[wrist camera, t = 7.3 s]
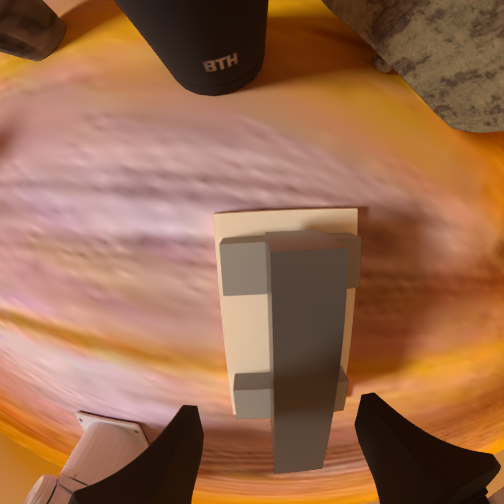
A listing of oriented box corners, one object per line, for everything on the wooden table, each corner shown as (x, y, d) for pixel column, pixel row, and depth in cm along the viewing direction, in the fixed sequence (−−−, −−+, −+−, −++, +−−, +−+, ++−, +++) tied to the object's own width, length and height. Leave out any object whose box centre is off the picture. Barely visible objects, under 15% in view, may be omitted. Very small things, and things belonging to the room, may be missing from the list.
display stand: (338, 398, 21) (346, 421, 18) (234, 407, 22) (231, 431, 19) (352, 207, 18) (369, 211, 15) (215, 212, 18) (208, 217, 15)
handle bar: (310, 418, 18) (322, 468, 13) (270, 422, 18) (274, 473, 13) (319, 229, 15) (348, 247, 10) (264, 231, 15) (270, 251, 10)
